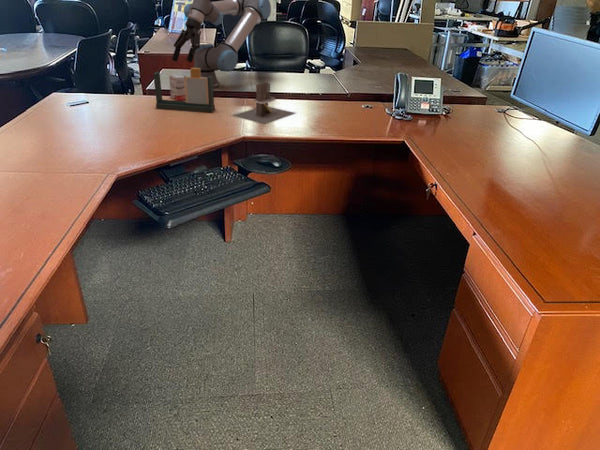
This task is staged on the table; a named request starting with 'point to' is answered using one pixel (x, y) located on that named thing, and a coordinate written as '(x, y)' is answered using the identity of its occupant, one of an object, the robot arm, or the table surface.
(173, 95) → the ink box
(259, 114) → the architectural model
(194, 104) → the window frame
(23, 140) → the table surface
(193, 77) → the window sash
